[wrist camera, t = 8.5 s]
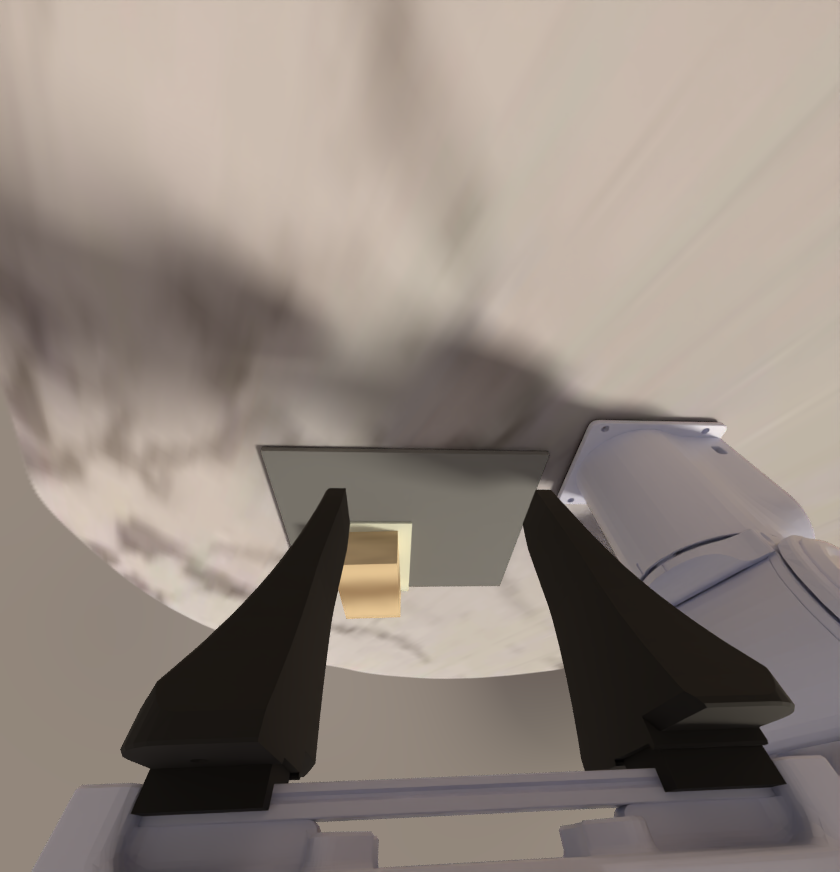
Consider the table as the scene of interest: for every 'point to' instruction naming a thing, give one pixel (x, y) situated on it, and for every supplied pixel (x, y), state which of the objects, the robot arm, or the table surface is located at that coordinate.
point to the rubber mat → (418, 503)
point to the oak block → (371, 575)
